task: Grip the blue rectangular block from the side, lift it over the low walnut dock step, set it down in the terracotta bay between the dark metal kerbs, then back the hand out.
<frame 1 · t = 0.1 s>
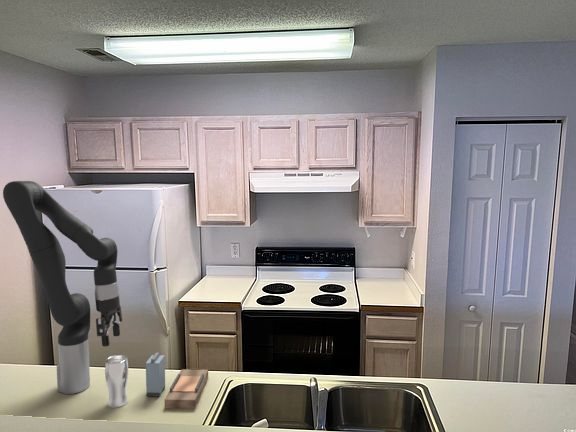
hand: (111, 340, 136), 17 cm above the countertop, tool pointing down, fingers open, 8 cm apart
blue rectangular block: (156, 392, 135), on the countertop
dock: (188, 391, 135), on the countertop
beer glass: (117, 403, 128), on the countertop
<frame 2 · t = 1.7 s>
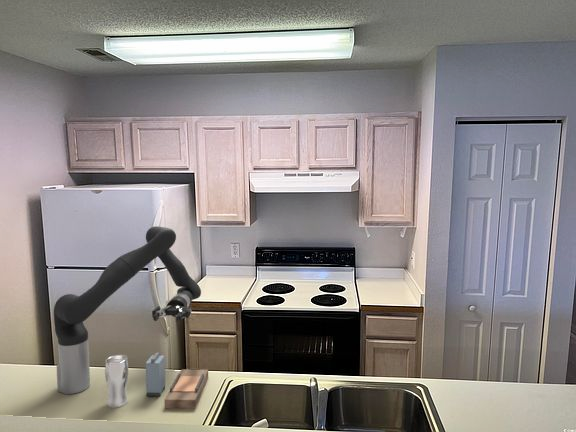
hand: (166, 318, 145), 22 cm above the countertop, tool horizontal, fingers open, 8 cm apart
nothing on the countertop moved.
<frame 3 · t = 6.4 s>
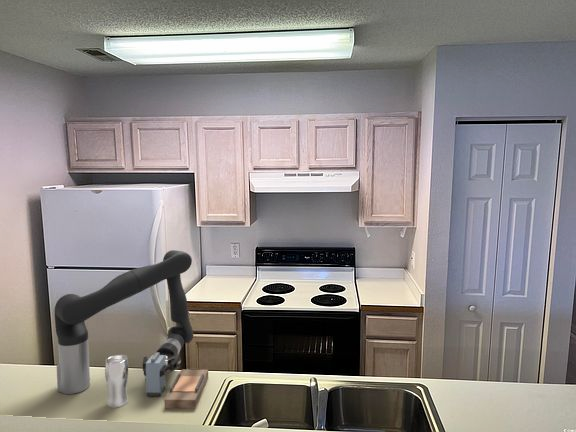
hand: (153, 373, 131), 8 cm above the countertop, tool horizontal, fingers closed on blue rectangular block, 4 cm apart
blue rectangular block: (156, 392, 135), on the countertop, touching gripper
everything else where it was.
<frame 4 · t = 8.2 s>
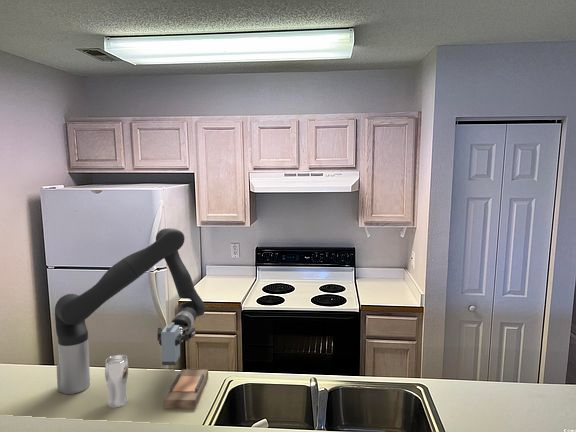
hand: (168, 342, 131), 19 cm above the countertop, tool horizontal, fingers closed on blue rectangular block, 4 cm apart
blue rectangular block: (171, 361, 134), point 11 cm above the countertop, touching gripper
everything else where it was.
when the fingers open (13 cm above the countertop, at t = 10.5 s): blue rectangular block drops 1 cm, resting on dock.
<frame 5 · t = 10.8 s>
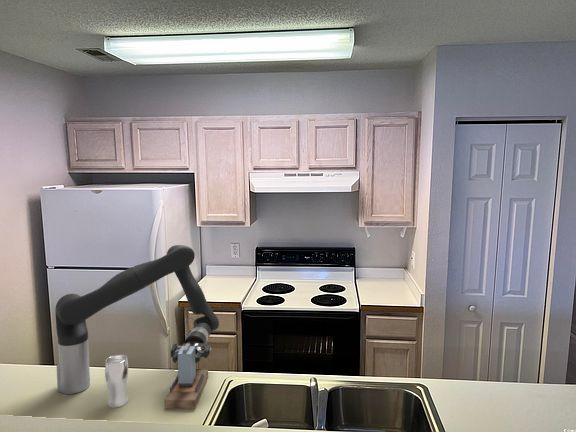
hand: (185, 360, 131), 13 cm above the countertop, tool horizontal, fingers open, 6 cm apart
blue rectangular block: (187, 383, 134), point 3 cm above the countertop, touching dock
everything else where it was.
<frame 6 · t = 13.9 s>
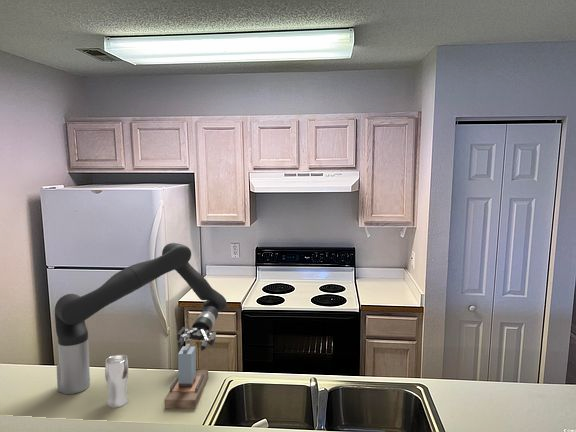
hand: (190, 346, 144), 12 cm above the countertop, tool horizontal, fingers open, 8 cm apart
nothing on the countertop moved.
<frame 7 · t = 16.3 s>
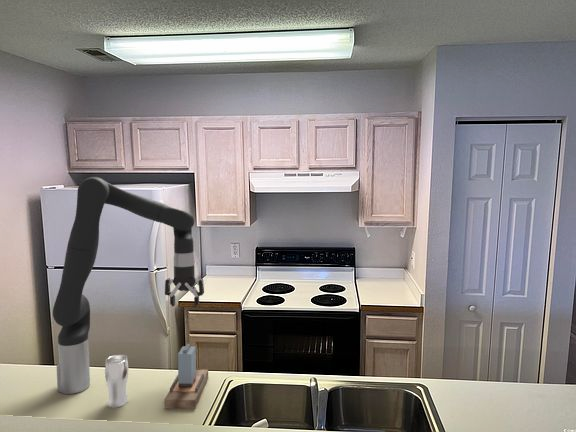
hand: (184, 305, 147), 26 cm above the countertop, tool pointing down, fingers open, 8 cm apart
nothing on the countertop moved.
at the end: blue rectangular block inside the target area on the dock (0.1 cm from its centre), point 3.3 cm above the dock's base; blue rectangular block tilted 0°; the gripper is holding nothing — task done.
